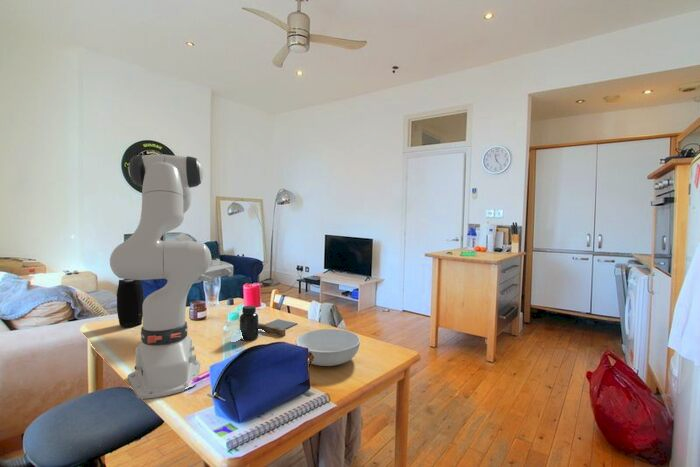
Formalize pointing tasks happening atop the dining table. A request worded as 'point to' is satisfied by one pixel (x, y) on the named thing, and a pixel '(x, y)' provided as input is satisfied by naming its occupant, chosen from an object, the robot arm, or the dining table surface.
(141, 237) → the robot arm
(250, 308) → the supplement bottle
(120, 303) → the portable speaker
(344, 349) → the serving bowl
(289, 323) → the grey mat
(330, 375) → the dining table surface
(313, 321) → the dining table surface
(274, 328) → the walnut rail
